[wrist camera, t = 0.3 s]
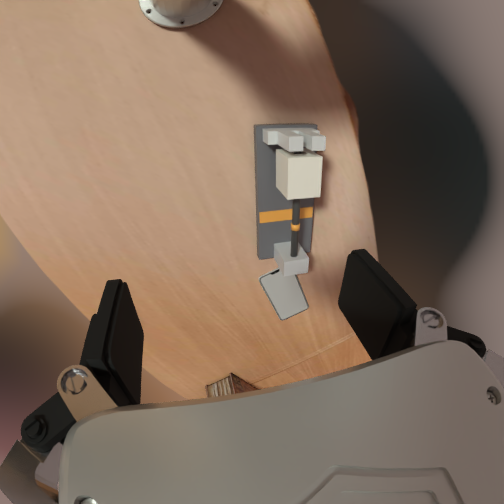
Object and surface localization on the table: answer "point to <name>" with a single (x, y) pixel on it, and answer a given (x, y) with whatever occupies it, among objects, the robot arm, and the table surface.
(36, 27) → the table surface
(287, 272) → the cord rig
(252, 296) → the table surface
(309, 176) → the notched cream block
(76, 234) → the table surface
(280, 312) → the smartphone
